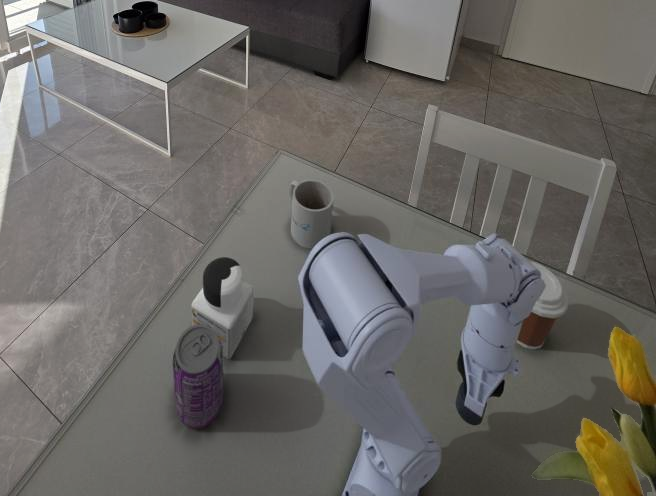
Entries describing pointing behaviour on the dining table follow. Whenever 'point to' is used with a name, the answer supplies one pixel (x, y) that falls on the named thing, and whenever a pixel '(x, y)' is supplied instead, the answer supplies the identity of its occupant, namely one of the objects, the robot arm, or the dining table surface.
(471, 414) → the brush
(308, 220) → the mug
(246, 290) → the container
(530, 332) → the coffee cup
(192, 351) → the beverage can
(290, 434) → the dining table surface
